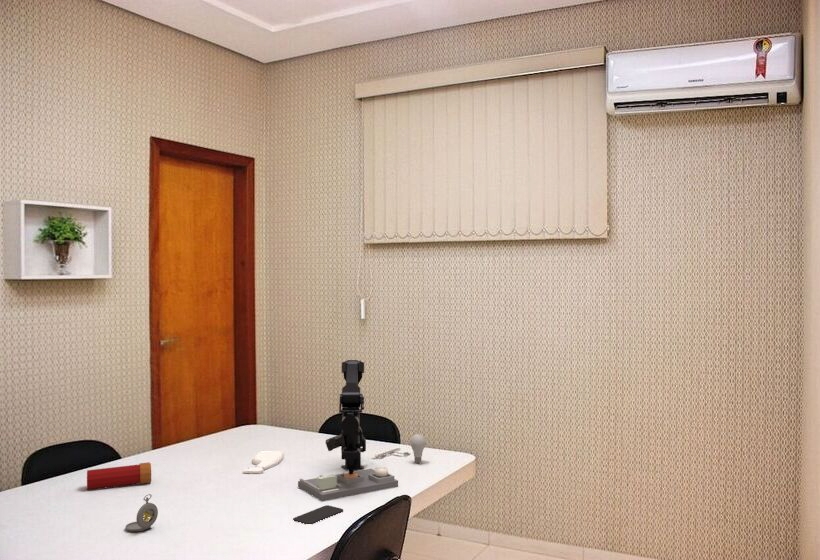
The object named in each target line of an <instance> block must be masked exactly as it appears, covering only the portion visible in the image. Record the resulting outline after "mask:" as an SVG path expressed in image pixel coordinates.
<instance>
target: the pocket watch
mask: <svg viewBox="0 0 820 560" xmlns="http://www.w3.org/2000/svg"><path fill="white" fill-rule="evenodd" d="M149 496H150V497H149ZM152 496H153V495H152V494H151V493H149V494H146V495H145V496H144V497H143V501H145V503H144V504H143V505H141V506H140V508H139V509H138V511H137V514H136V517H135V518H136V519H135V520H136V521H133V522H129V523H127V524H126V525H125V530H126V531H128V532H132V533H133V532H138V533H139V532H142V531H145V530H148V529H150V528H151V527H152V526H153V525H154V524H155V522H156V520H157V519H158V515H159V509H158V507H157V505H156V504H155V503H153V502H149V500H150V499H151V498H152Z"/></svg>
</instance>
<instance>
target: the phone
mask: <svg viewBox="0 0 820 560" xmlns="http://www.w3.org/2000/svg"><path fill="white" fill-rule="evenodd" d="M341 512H342V513H344V509H343V508H341V507H336V506H333V505H329V504H328V505H323V506H321V507H318V508H316V509H313V510H310V511H308V512H306V513H303V514H300V515H298V516H295V517H293V519H292V521H293V520H294V521H293V522H296V521H298V522H297V523H299V522H301V523H300V524H303V523H304V525H306V524H312V525H314V524H316V522H317V523H319V522H321V521H320V520H322V521H324V520H326V519H325V518H327V519H328V517H329V518H331V517H330V516H332V517H334V516H337V515H339V514H342V513H341ZM338 513H339V514H338ZM336 514H337V515H336ZM333 515H334V516H333ZM323 519H324V520H323ZM318 521H319V522H318Z"/></svg>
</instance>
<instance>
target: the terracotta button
mask: <svg viewBox="0 0 820 560" xmlns="http://www.w3.org/2000/svg"><path fill="white" fill-rule="evenodd" d="M344 473H345V474H344V477H345V478H347V479H351V478H356V477H358V474H357V473H355V472H353V474H349V471H347V472H344Z"/></svg>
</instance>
